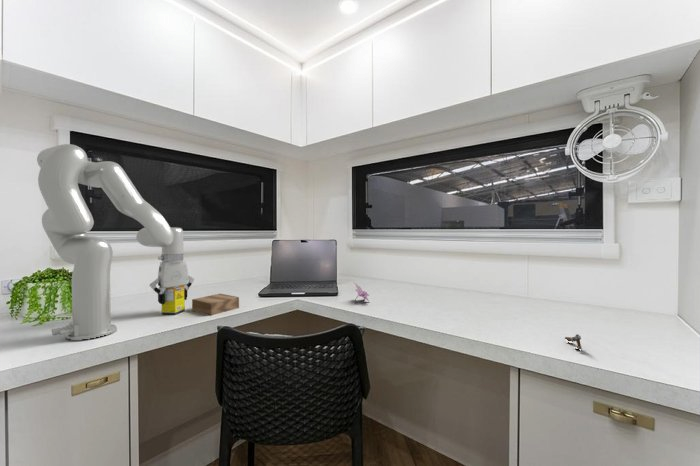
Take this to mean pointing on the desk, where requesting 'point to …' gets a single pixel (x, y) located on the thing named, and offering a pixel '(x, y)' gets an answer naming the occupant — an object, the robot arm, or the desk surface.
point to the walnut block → (215, 304)
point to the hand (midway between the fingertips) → (173, 301)
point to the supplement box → (174, 300)
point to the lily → (361, 292)
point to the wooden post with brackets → (576, 338)
